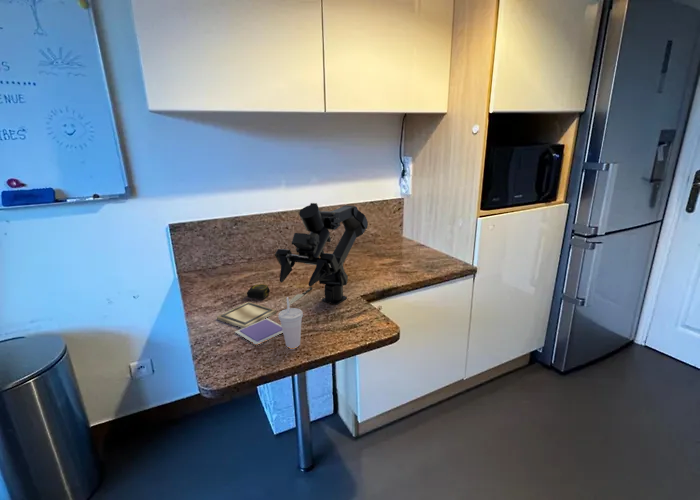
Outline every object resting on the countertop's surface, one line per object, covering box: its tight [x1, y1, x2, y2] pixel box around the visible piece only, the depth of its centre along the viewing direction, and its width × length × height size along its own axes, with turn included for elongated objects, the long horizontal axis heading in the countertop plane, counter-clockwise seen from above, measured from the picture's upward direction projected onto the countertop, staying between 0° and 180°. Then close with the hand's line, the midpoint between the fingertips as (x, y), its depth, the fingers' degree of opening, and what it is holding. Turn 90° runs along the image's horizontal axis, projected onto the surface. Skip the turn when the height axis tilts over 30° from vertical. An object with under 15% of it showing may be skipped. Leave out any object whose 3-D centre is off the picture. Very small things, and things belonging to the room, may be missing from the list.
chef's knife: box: [289, 286, 314, 307], centre depth 130 cm, size 19×1×3 cm
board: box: [216, 301, 277, 329], centre depth 116 cm, size 13×13×1 cm
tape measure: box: [246, 283, 271, 300], centre depth 131 cm, size 7×7×4 cm
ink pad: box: [234, 317, 283, 344], centre depth 106 cm, size 11×11×1 cm
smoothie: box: [277, 296, 304, 348], centre depth 96 cm, size 6×6×14 cm
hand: (294, 283), depth 101 cm, fingers open, 9 cm apart
